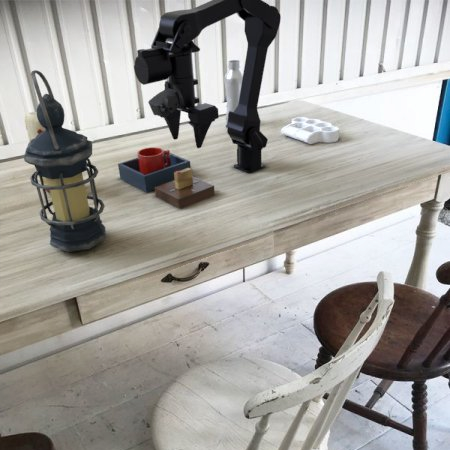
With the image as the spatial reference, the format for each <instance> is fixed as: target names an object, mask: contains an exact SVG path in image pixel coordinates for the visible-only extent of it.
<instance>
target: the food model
mask: <svg viewBox="0 0 450 450" xmlns="http://www.w3.org/2000/svg"><path fill="white" fill-rule="evenodd" d="M24 124H25V128H26V132H27V138H28V143H29V142H30V141H31V140H32V139H34V138H36V136H37V135H38V134H40V133H41V132H43V131H45V130H46V129H45V128H44V127H42V126H41V124H40V123H39V121H38V118H37V111H32V112H28V113H26V114H25V115H24ZM42 179H43V183H44V185H47V186H48V182H47V178H45V177H42ZM45 190H46V193H49V194H50V190H48V189H45Z"/></svg>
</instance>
